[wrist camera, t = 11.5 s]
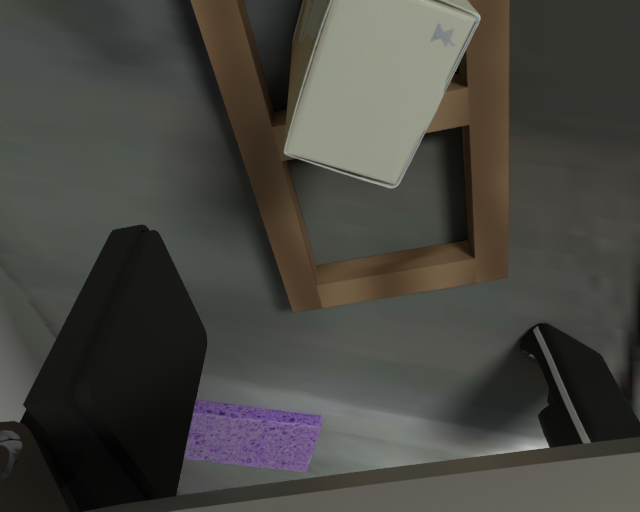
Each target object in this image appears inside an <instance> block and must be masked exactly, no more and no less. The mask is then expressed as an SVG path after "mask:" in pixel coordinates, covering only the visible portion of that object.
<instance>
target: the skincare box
mask: <svg viewBox="0 0 640 512" xmlns="http://www.w3.org/2000/svg"><path fill="white" fill-rule="evenodd" d="M480 19H481V17H480V15H479V13H478V12H477V11H476V10H475V9H474V8H473V7H472V5H471V4H470V3H469V2H468V0H303V1H302V5H301V9H300V12H299V16H298V20H297V24H296V28H295V32H294V35H293V43H292V56H291V69H290V81H289V92H288V104H287V115H286V127H285V139H284V149H283V152H284V154H285V155H287V156H290V157H293V158H296V159H300V160H303V161H305V162H308V163H311V164H314V165H317V166H320V167H323V168H326V169H329V170H331V171H335V172H338V173H341V174H345V175H348V176H351V177H354V178H357V179H360V180H363V181H366V182H370V183H373V184H376V185H380V186H383V187H386V188H390V189H392V188H395V187H397V186H398V185H399V184H400V182H401V180H402V178H403V176H404V174H405V172H406V170H407V168H408V166H409V164H410V162H411V160H412V158H413V156H414V154H415V152H416V150H417V148H418V146H419V144H420V142H421V140H422V138H423V136H424V134H425V132H426V130H427V129H428V127H429V125H430V123H431V121H432V119H433V117H434V115H435V113H436V111H437V109H438V107H439V104H440V102H441V100H442V98H443V96H444V94H445V91H446V89H447V87H448V85H449V83H450V81H451V79H452V77H453V75H454V73H455V71H456V69H457V67H458V65H459V63H460V61H461V59H462V57H463V55H464V53H465V51H466V49H467V47H468V44H469V42H470V40H471V38H472V36H473V34H474V32H475V30H476V28H477V26H478V25H479V22H480Z"/></svg>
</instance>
